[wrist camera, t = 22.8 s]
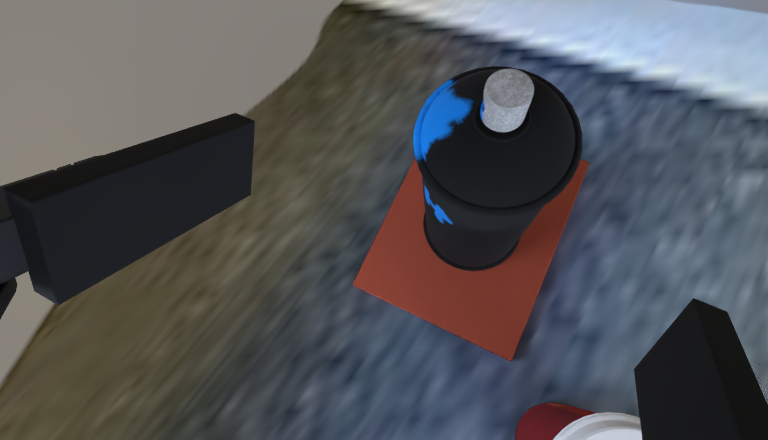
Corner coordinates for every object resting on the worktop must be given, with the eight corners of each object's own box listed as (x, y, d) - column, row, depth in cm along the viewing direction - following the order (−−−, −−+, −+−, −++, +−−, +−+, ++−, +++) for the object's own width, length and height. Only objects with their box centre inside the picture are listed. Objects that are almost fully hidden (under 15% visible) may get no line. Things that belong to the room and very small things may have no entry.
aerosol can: (527, 186, 36) (626, 13, 17) (514, 280, 34) (609, 201, 15) (433, 171, 38) (428, -4, 19) (414, 261, 36) (388, 166, 17)
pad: (586, 167, 37) (590, 162, 36) (509, 360, 34) (511, 361, 33) (439, 114, 41) (439, 108, 40) (354, 286, 37) (352, 284, 36)
